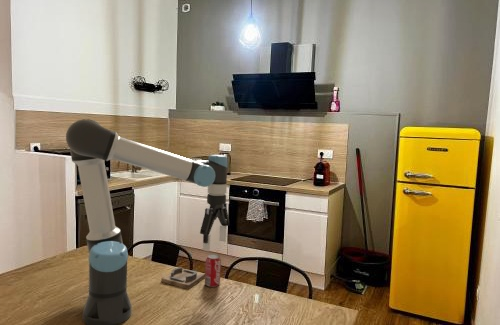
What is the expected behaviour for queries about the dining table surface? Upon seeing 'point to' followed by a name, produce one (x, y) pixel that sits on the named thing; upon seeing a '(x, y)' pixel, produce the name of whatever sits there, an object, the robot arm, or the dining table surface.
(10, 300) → the dining table surface
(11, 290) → the dining table surface
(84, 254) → the dining table surface
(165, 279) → the socket board
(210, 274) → the beverage can
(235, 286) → the dining table surface
